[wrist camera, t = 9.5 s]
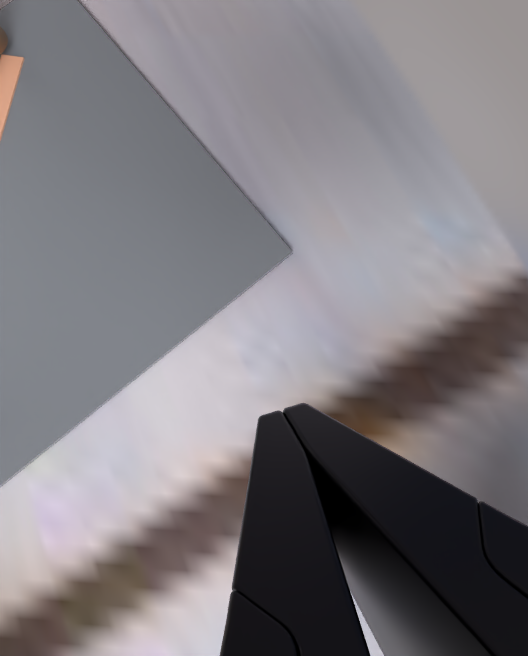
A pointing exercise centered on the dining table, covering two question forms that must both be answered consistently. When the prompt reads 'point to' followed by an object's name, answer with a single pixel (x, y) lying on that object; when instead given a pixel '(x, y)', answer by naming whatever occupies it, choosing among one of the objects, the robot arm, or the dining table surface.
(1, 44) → the white fence panel
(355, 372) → the dining table surface
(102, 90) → the card
